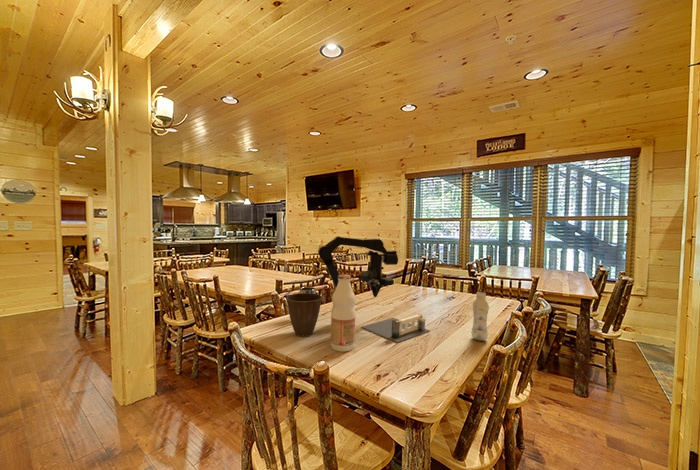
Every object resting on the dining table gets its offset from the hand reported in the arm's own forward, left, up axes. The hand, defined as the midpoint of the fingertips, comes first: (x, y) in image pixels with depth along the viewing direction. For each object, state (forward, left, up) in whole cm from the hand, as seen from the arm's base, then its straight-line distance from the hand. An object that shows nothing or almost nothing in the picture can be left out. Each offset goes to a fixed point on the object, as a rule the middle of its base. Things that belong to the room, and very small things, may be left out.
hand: (375, 296), depth 139 cm
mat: (+2, -11, -13) cm, 17 cm away
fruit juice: (-29, -12, -13) cm, 34 cm away
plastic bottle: (+22, -41, -13) cm, 48 cm away
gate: (+4, -19, -12) cm, 22 cm away
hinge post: (-6, -18, -13) cm, 23 cm away
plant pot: (-34, +9, -13) cm, 38 cm away
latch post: (+9, -21, -13) cm, 26 cm away
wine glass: (-22, +26, -13) cm, 37 cm away
